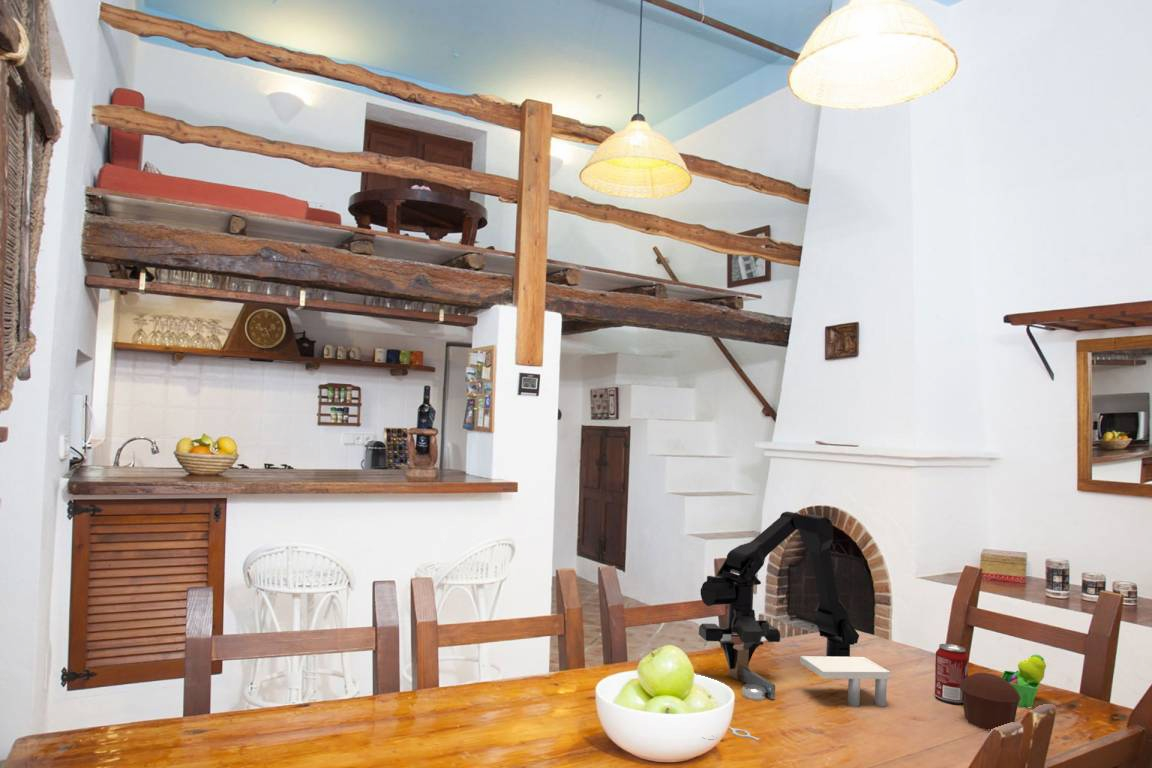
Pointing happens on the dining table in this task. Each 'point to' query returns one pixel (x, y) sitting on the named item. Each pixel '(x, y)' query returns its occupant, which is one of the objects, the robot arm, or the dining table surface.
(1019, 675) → the green toy figure
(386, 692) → the dining table surface
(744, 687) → the token
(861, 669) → the low stand
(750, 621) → the robot arm
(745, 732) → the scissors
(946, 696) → the soda can
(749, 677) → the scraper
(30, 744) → the dining table surface
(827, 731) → the dining table surface
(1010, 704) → the muffin
